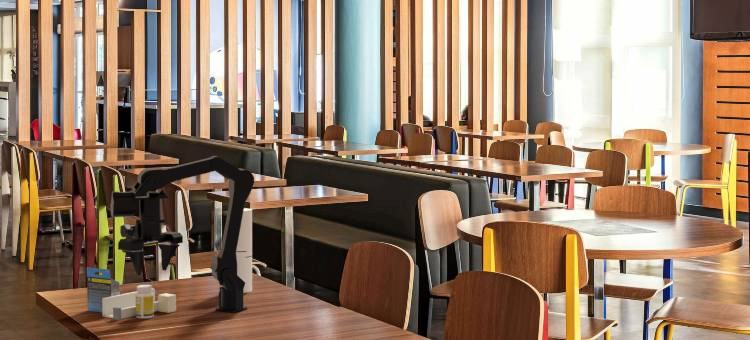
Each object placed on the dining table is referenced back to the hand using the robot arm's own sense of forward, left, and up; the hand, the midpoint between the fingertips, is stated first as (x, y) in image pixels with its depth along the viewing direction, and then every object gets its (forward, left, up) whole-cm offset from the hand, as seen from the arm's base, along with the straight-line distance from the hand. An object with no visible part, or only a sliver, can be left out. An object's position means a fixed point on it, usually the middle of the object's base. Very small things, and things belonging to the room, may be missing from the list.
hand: (151, 272), depth 286 cm
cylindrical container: (+5, -40, -12) cm, 42 cm away
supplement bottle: (0, +3, -12) cm, 12 cm away
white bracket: (+5, 0, -12) cm, 13 cm away
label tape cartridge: (+14, +5, -12) cm, 19 cm away
